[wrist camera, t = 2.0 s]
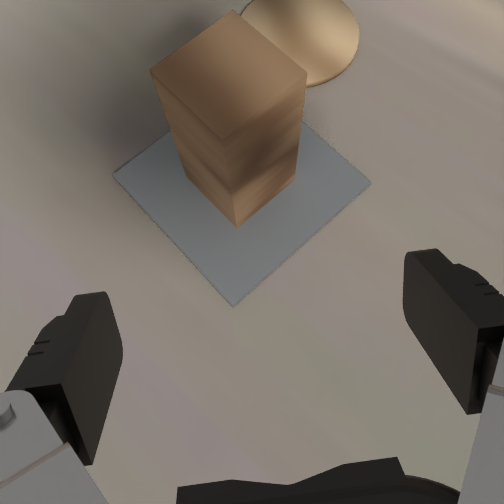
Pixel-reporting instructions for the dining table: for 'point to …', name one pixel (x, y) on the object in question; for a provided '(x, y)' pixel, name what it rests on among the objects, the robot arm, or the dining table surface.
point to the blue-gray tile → (256, 227)
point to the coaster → (309, 33)
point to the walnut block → (233, 114)
